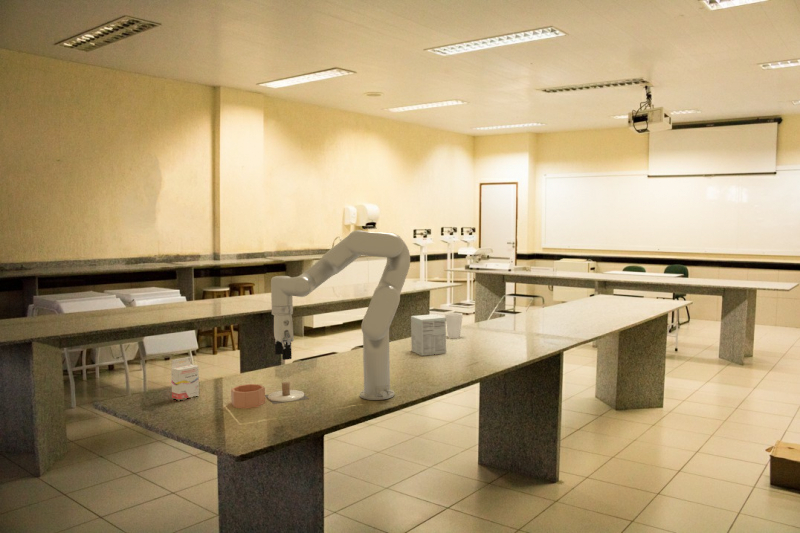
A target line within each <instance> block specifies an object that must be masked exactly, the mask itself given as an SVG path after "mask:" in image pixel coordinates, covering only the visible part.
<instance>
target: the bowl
mask: <svg viewBox="0 0 800 533" xmlns="http://www.w3.org/2000/svg"><path fill="white" fill-rule="evenodd" d="M265 388H266V387H265V386H263V385H262V384H258V383H257V384H255V383H254V384H253V383H248V384H242V385H241V384H239V385H236V386H234V387H232V388H230V397H231V398H230V400H231V406H232V407H233V408H239V409H250V408H252V409H253V408H257V407H258V408H259V407H261V406H263V405H264V404H265V403H266V397H265V395H266V389H265Z"/></svg>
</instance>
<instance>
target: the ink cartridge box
mask: <svg viewBox="0 0 800 533" xmlns="http://www.w3.org/2000/svg"><path fill="white" fill-rule="evenodd" d="M182 361H183V362H182ZM170 365H171V366H170V367H171V369H170V377H171V378H170V380H171V399H172V398H175V399H183V398H188V397H193V396H199V397H200V382H199V381H200V380H199V375H200V374H199V365H196V364H192V356H187V357H180V358H176V359H172V360H171V364H170Z"/></svg>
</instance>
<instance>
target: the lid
mask: <svg viewBox="0 0 800 533" xmlns="http://www.w3.org/2000/svg"><path fill="white" fill-rule="evenodd" d="M267 395H268V399H269V401H270V402H271V401H274V402H285V403H291V402H290V401H292V402H297V401H296V400H298V401H300V400H299V399H302V398H303V397H304V395H305V392H304V391H302V390H296V389H291V383H290V382H289V381H284V382H283V381H282V382H281V390H277V391H273V392H271V393H269V394H267Z"/></svg>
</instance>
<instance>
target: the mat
mask: <svg viewBox="0 0 800 533" xmlns="http://www.w3.org/2000/svg"><path fill="white" fill-rule="evenodd" d="M268 395H269V394H265V399H268ZM268 400H269V399H268ZM305 400H310V398H309V397H308V396H306V395H305V394H304V397H303V398H302V399H299V400H296V401H295V402H297V401H305ZM269 401H270V400H269ZM270 402H271V403H272V404H273V405H279V404H284V403H286V402H274V401H270ZM291 402H293V401H290V402H289V403H291Z"/></svg>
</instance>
